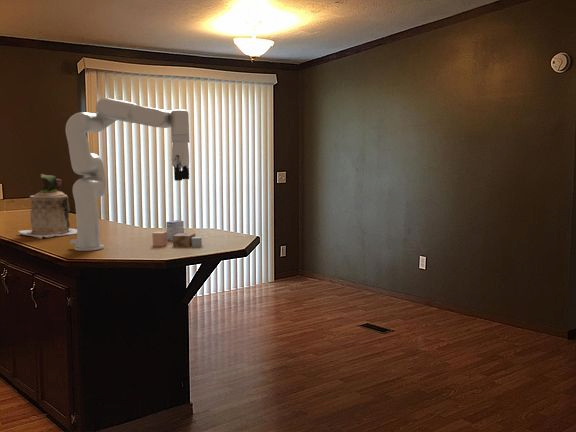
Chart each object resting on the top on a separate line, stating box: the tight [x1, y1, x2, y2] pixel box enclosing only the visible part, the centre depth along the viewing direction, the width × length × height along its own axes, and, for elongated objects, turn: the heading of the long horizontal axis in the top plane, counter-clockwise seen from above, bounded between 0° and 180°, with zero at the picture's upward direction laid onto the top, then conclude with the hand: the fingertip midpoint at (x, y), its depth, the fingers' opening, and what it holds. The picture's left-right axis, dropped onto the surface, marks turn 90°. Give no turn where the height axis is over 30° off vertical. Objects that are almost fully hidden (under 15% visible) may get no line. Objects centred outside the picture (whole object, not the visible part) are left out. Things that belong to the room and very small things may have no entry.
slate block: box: [191, 236, 203, 248], centre depth 260 cm, size 4×4×4 cm
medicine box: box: [165, 219, 185, 241], centre depth 282 cm, size 8×4×9 cm, turn 149°
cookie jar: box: [17, 173, 77, 239], centre depth 302 cm, size 25×25×32 cm
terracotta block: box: [152, 231, 168, 247], centre depth 264 cm, size 5×5×6 cm
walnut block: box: [172, 232, 196, 247], centre depth 264 cm, size 8×8×5 cm
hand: (182, 179), depth 245 cm, fingers open, 9 cm apart
